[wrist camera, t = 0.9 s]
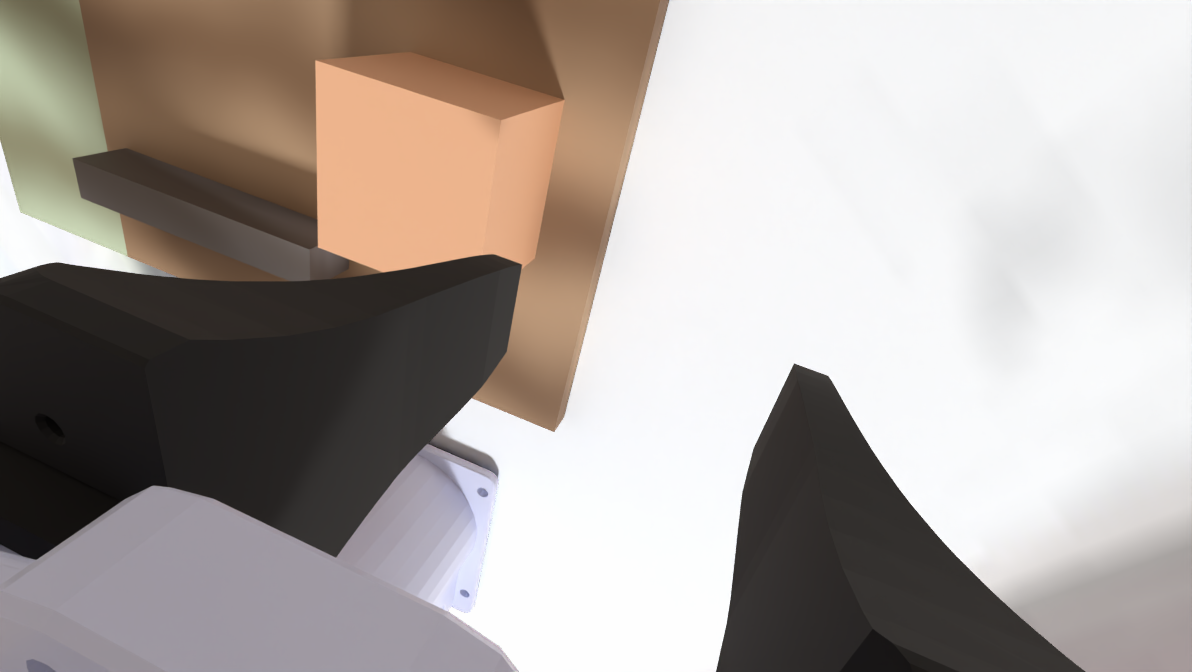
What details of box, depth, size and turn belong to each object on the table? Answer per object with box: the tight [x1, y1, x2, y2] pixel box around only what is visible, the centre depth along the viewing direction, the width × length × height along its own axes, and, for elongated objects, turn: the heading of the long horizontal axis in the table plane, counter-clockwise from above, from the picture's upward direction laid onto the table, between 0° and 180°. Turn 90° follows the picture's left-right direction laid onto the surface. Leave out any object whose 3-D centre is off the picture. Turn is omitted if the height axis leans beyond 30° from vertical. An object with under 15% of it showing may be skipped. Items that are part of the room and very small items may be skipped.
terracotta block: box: [315, 52, 565, 272], centre depth 17 cm, size 5×5×4 cm
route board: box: [0, 0, 669, 432], centre depth 20 cm, size 18×26×3 cm
